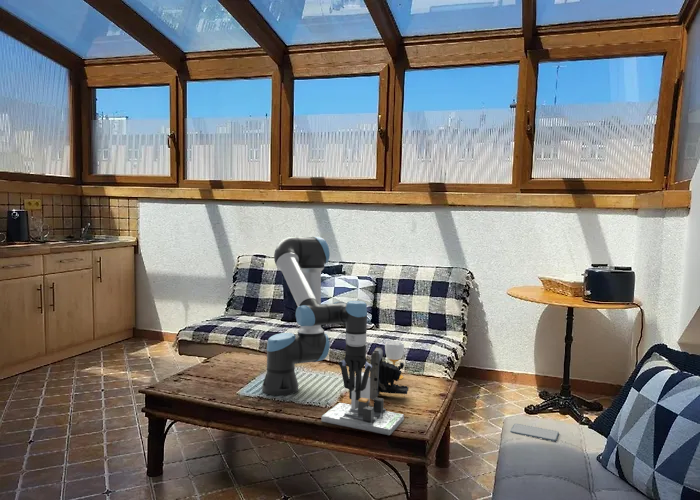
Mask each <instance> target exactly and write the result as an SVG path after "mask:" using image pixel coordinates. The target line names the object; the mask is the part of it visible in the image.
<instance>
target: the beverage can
mask: <svg viewBox="0 0 700 500" xmlns="http://www.w3.org/2000/svg"><path fill="white" fill-rule="evenodd" d="M364 372H365V371H362V372H361V383H362V379H363V375H364ZM355 386H356V375H355ZM354 389H355V388H354ZM360 398H367V399H369V403H371V401H370V399H371V398H370V376H369V377H368V381H367V385H366V388H365V389H364V390H363V391H361V393H360Z"/></svg>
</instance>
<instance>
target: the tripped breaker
mask: <svg viewBox="0 0 700 500" xmlns="http://www.w3.org/2000/svg"><path fill="white" fill-rule="evenodd" d="M369 404H370V402H369V399H367V398H360V399H359V400H358V414H361V415H363V408H364V407H366V406H367V407H369V406H370V405H369Z"/></svg>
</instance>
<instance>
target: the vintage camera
mask: <svg viewBox="0 0 700 500" xmlns="http://www.w3.org/2000/svg"><path fill="white" fill-rule="evenodd" d="M383 355H384V350H383V348H382V347H381V346H377V347H376V348H375V349H374V351H372V354H371V355H370V364H372V365H373V367H372V369H371V370H370V373H369V377H370V399H371V400H373V401H374V399H375V398H376V397H377V398H378V397H379V394H380V393H383V394H395V395H396V394H398V395H403V396H404V399H406V398H405V396H406V395H407V394H408V391H409V386H407V385H399V384H395V381H396V382H398V381H399V380H398V379H399V378H400V375H402V374H401V373H402V370H403V369H404V367H405V363H404V362H399V365H398V366H396V364H395V365H393V364H392V363H390V362H386V361H385V360H383V357H384V356H383Z"/></svg>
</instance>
